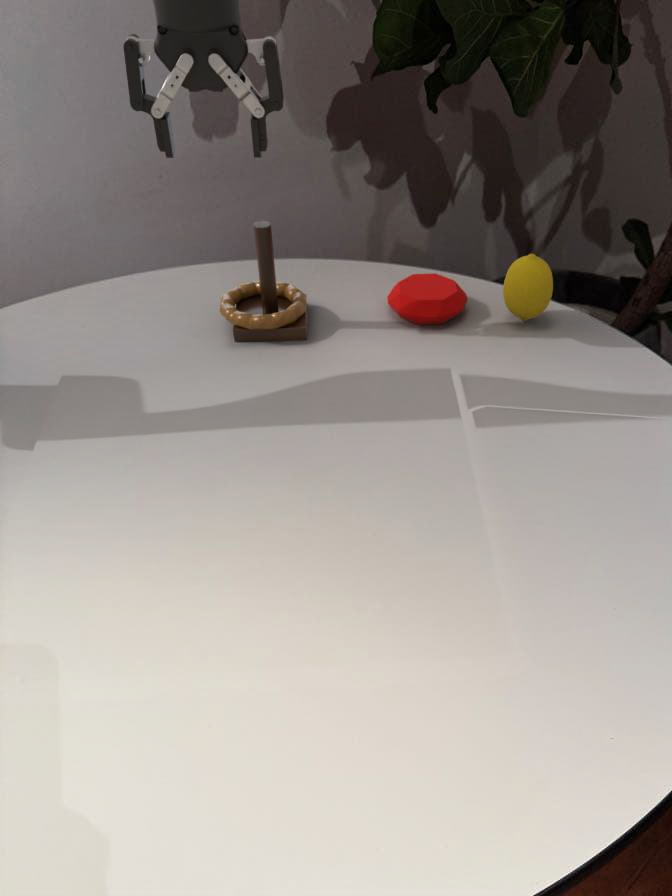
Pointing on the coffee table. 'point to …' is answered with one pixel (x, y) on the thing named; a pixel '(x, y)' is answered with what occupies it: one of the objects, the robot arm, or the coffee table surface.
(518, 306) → the lemon
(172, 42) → the robot arm
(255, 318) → the ring
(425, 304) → the gemstone
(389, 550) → the coffee table surface
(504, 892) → the coffee table surface
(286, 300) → the peg stand
